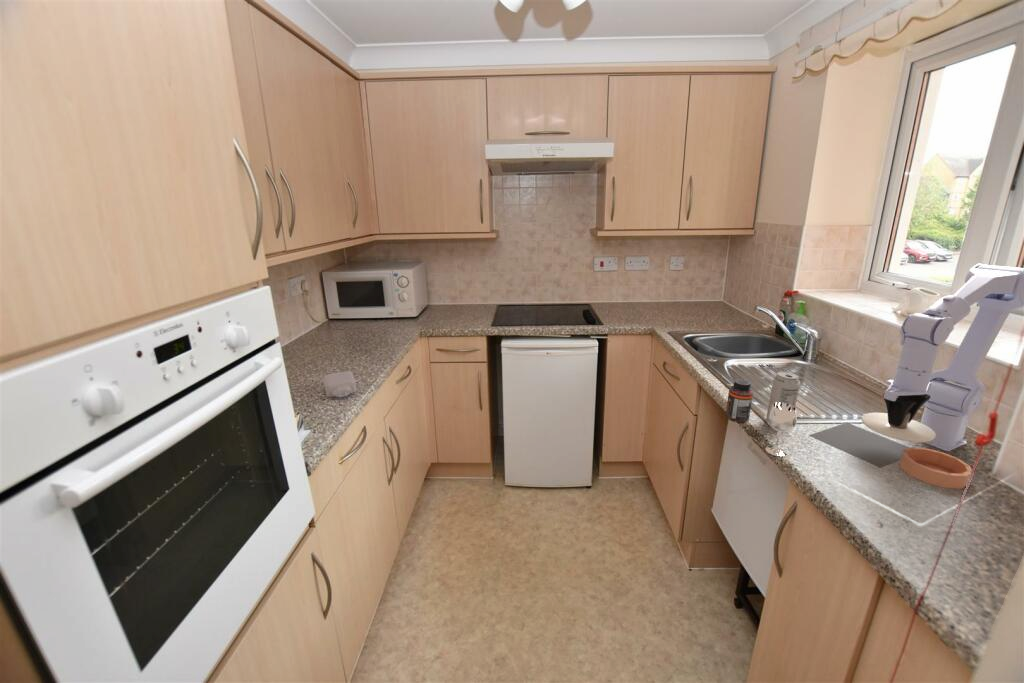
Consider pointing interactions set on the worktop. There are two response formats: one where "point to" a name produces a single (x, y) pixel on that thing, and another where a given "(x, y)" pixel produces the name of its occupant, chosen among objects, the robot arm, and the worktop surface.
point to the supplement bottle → (739, 401)
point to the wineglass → (781, 423)
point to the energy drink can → (784, 390)
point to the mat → (862, 444)
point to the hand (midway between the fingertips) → (898, 422)
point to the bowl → (935, 467)
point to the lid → (899, 428)
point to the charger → (339, 384)
